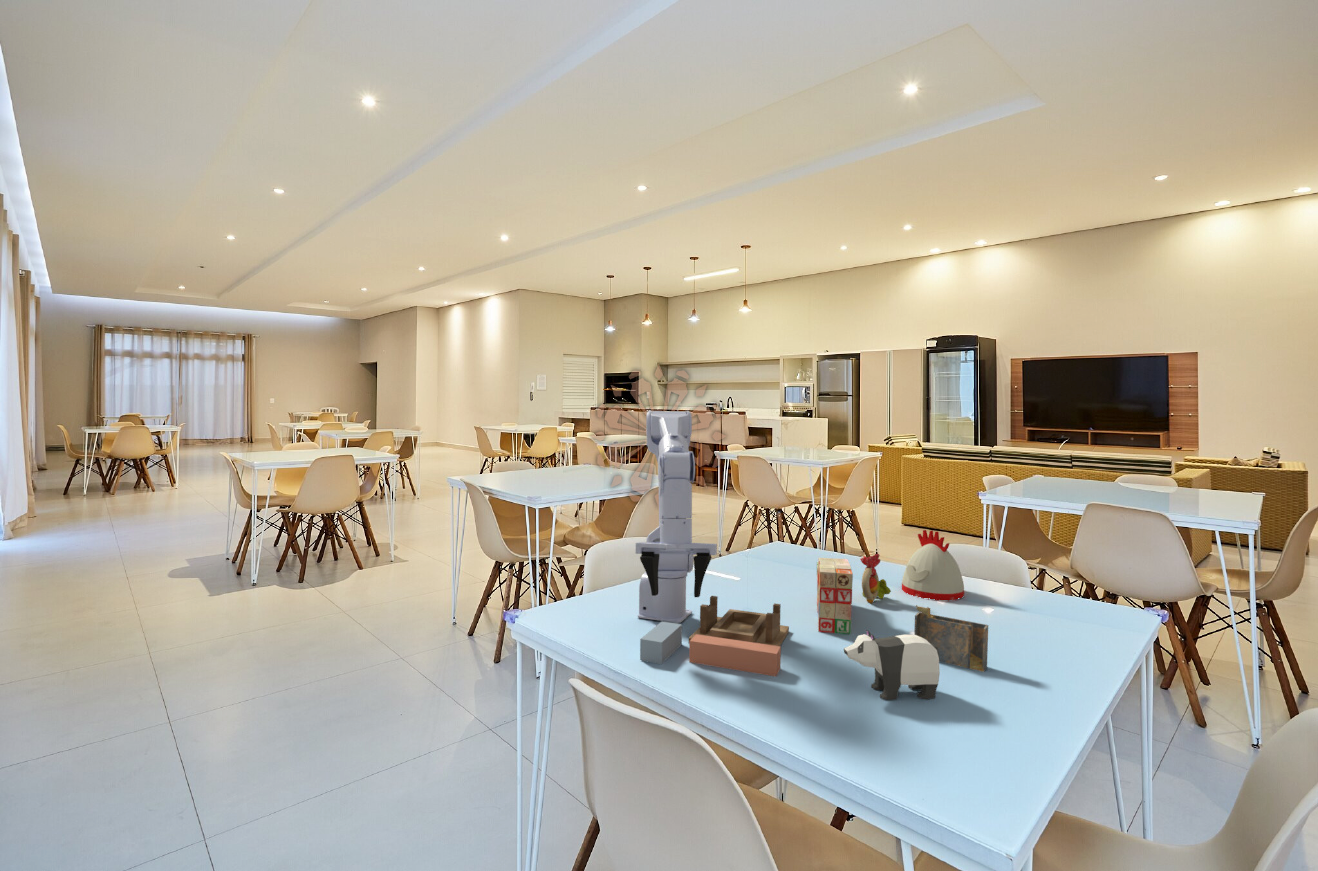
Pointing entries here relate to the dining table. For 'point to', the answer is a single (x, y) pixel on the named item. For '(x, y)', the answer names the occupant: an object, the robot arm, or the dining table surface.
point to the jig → (742, 625)
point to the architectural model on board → (954, 639)
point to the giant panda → (898, 663)
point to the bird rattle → (872, 580)
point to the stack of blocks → (834, 595)
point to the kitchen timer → (933, 571)
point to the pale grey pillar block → (661, 642)
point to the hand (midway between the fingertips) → (675, 595)
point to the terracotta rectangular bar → (735, 654)
